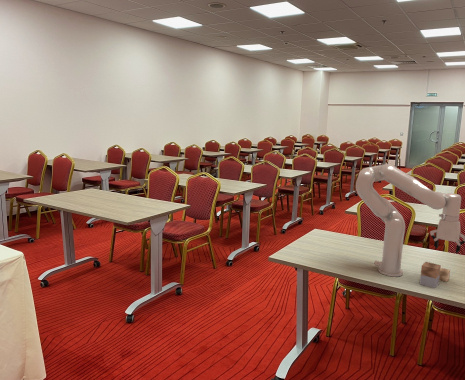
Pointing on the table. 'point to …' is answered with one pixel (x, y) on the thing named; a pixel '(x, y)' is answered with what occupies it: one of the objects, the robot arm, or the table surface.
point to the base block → (429, 281)
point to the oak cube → (444, 274)
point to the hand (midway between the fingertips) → (446, 250)
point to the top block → (430, 270)
